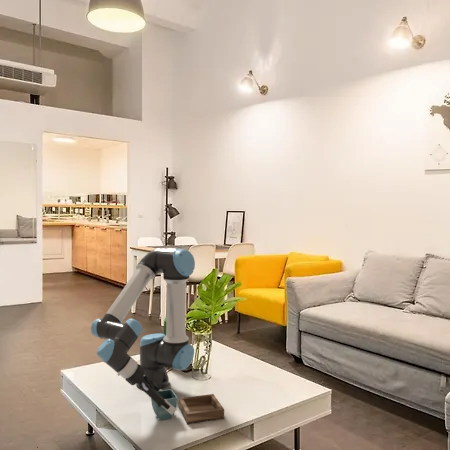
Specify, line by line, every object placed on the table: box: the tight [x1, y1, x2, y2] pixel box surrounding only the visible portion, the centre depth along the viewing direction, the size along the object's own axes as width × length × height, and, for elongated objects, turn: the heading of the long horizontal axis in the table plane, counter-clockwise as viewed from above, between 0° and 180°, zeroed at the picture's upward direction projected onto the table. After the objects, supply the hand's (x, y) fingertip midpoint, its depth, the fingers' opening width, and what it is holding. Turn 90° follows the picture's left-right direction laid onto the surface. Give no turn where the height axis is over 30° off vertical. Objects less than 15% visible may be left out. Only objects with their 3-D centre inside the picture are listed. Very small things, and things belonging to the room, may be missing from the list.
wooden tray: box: [178, 393, 225, 425], centre depth 180 cm, size 15×15×4 cm
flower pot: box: [150, 389, 178, 421], centre depth 177 cm, size 9×9×9 cm
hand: (171, 406), depth 178 cm, fingers closed on flower pot, 9 cm apart
